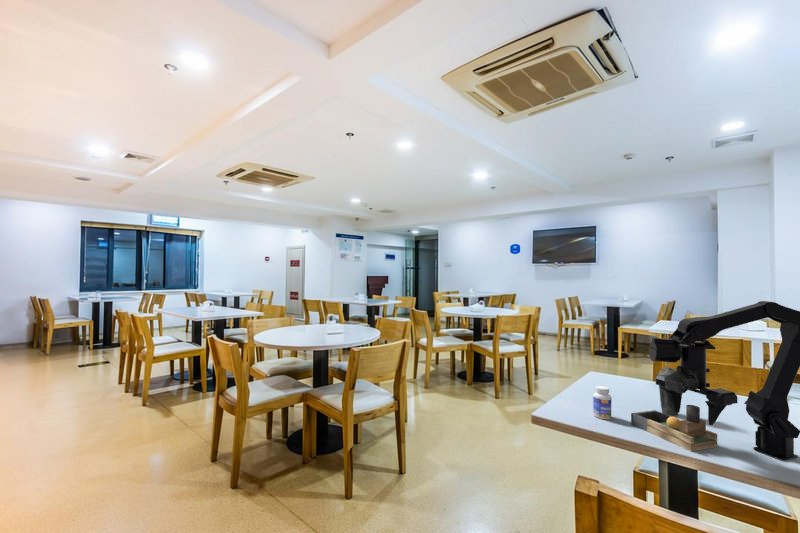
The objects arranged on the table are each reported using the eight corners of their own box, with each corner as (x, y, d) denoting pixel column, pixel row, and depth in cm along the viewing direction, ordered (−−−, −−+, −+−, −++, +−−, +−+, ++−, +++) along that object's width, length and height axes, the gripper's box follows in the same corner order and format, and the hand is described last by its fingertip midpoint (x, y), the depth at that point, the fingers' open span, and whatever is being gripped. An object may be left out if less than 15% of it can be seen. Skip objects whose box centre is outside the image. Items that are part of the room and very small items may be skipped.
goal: (671, 427, 116) (671, 416, 116) (646, 431, 113) (646, 419, 113) (654, 420, 121) (655, 410, 121) (631, 424, 118) (631, 413, 118)
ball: (684, 430, 109) (684, 418, 109) (675, 432, 108) (675, 420, 108) (672, 426, 112) (672, 414, 112) (663, 427, 111) (663, 415, 111)
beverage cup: (687, 418, 123) (687, 358, 124) (663, 416, 125) (663, 357, 125) (676, 410, 130) (676, 354, 131) (653, 409, 132) (653, 352, 132)
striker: (707, 435, 104) (707, 407, 105) (689, 438, 103) (689, 409, 103) (696, 431, 107) (696, 403, 107) (678, 434, 105) (678, 405, 106)
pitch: (717, 446, 103) (717, 433, 103) (690, 451, 101) (690, 438, 101) (671, 427, 116) (671, 416, 116) (646, 431, 113) (646, 419, 113)
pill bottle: (601, 420, 121) (602, 390, 121) (589, 414, 126) (589, 385, 126) (615, 418, 123) (615, 389, 123) (602, 412, 128) (602, 384, 128)
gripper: (641, 357, 112) (641, 409, 112) (708, 374, 94) (708, 436, 94) (669, 355, 115) (669, 406, 115) (738, 371, 97) (739, 431, 97)
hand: (693, 418), depth 105 cm, fingers open, 9 cm apart
